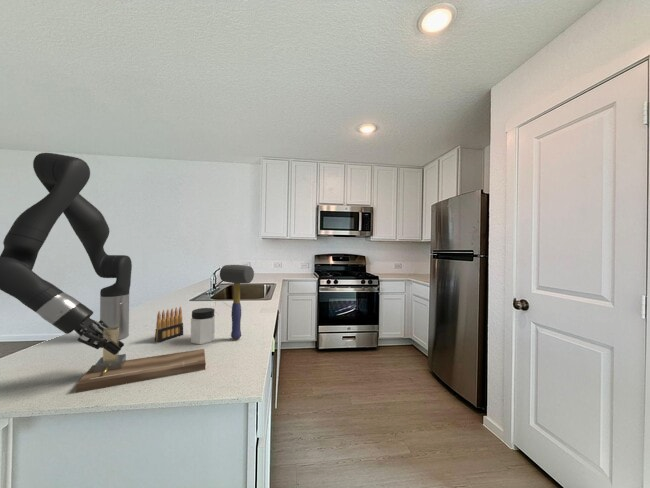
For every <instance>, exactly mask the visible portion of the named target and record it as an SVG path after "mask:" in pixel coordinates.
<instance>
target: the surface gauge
mask: <svg viewBox="0 0 650 488" xmlns="http://www.w3.org/2000/svg"><path fill="white" fill-rule="evenodd" d="M103 333H104V334H105V337H107V338H108V339H109V340H110V341H112V342H113V343H115V344H116V345H118V346H119V340H120V339H119V327H111V328H106V329H105V330H104V331H103ZM119 352H120V351H119ZM119 352H118V353H117V354H116V355H113V354H112V353H110V352H109V351H107V350H106V349H104V348H102V357H100V358H99V360H97V362H96V363H95V364H94V365H95V366H94V373H97V372H103V373H106V371H109V370H116V369H121V368H122V366H123V364H124V363H125V361H126V360H127V353H122V354H120V353H119Z"/></svg>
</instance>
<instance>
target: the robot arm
mask: <svg viewBox="0 0 650 488" xmlns="http://www.w3.org/2000/svg"><path fill="white" fill-rule="evenodd" d="M32 162H33V163H32V166H33V167H32V168H33V171H34V174H35V176H36V177H37V178H38V181H40V182H41V184H42V185H43V186H44V188H45V189H46V190H47V192H48V194H47V195H45V196H44V197H43V198H42V199H41V200H39V201H37V202H35V204H33V205H31V206H30V207H28V208H26V209H25V210H24V211H23V212H22V213H20V214H19V216H18V217H16V219H15V220H14V222H13V224H11V227H10V228H9V230H8V231H7V233H6V235H5V237H4V239H3V241H2V242H3V243H2V244H3V250H2V252H1V253H0V291H2V292H4V293H5V294H7V295H9V296H11V297H12V298H15V299H16V300H18V301H19V302H20V303H22V304H23V305H25V307H27V308H29V309H30V310H31V311H33V312H35V313H36V314H37V315H39V316H40V318H42V319H43V320H44V321H46V322H48V323H49V324H50V325H52V326H53V327H55V328H57V329H58V330H59V331H61V332H62V333H64V334H66V335H68V334H71V333H72V332H73V331H74V332H75V333H76V334H77V335H78V336H79V337H78V338H77V339H76V341H78V342H80V343H82V344H84V345H86V346H88V347H92V348H94V349H96V350H99V349H103V348H104V349H106V350H107V351H109V352H110V353H112V354H113V355H116V354H117V353H118V352H120V351H121V350H122V348H123V347H124V346H125V343H123V341H121V340H122V339H125V338H127V337H129V333H130V332H129V331H130V330H129V329H130V289H131V282H132V268H133V267H132V266H133V263H132V260H131V257H130V256H129V255H125V254H113V255H112V254H108V253H106V251H105V249H104V246H105V244H106V242H107V240H108V238H109V235H110V227H109V224H108V223H107V221H106V218H105V216H104V214H103V213H102V211H100V209H98V208H97V207H96V206H94V205H93V204H92V203H91V201H88V199H86V198H85V197H84V196H82V194H80V193H81V191H82V190H83V189H84V187H86V186H87V183H88V182H89V180H90V177H91V169H90V166H89V165H88V163H87V162H86V161H85V160H84V159H81V158H79V157H76V156H71V155H65V154H58V153H53V152H41V153H38V154H36V155H35V157H34V159H33V161H32ZM62 214H63V215H64V216H65V218H66V219H67V221H68V223H69V225H70V226H71V229H73V231H74V234H75V236H77V238H78V239H79V241H80V242H81V244H82V246H83V248H84V250H85V252H86V254H87V255H88V258H89V260H90V263H91V265H92V267H93V270H94V272H95V274H96V275H97V276H99V278H102V279H115V282H114V283H113V284H111V285H109V286H104V287H103V288H100V294H99V296H100V298H99V321H98V320H94V319H92V318H91V317H92V316H93V314H94V311H93V310H91V309H90V308H89V307H88V306H87V305H85V304H83V303H82V302H80V301H79V300H78V299H76V298H75V297H73V296H71V295H70V294H67V293H66V292H64V291H63V290H62V289H60V288H59V287H57V286H56V285H55V284H53V283H51V282H50V281H48V280H46V279H44V278H42V277H41V276H39V275H38V274H37V273H36V272H34V271H33V269H34V267H35V264H36V261H37V258H38V255H39V252H40V249H42V247H43V245H44V244H45V242H46V240H47V238H48V237H49V235H50V232H51V231H52V229H53V227H54V225H56V223H57V221H58V219H60V217H61V215H62ZM111 327H119V346H118V345H116V344H115V343H113V342H112V341H110V340H109V339H108V338H107V337H105V334H104V333H103V331H104V330H105V329H106V328H111Z"/></svg>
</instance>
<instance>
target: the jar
mask: <svg viewBox="0 0 650 488" xmlns="http://www.w3.org/2000/svg"><path fill="white" fill-rule="evenodd" d="M215 323H216V315H215V308H212V307H200V308H196V309H193V310H192V311H191V319H190V343H191V344H196V345H203V344H208V343H212V342H214V339H215V336H216V335H215V332H216V330H215V329H216V324H215Z"/></svg>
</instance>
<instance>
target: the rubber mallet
mask: <svg viewBox="0 0 650 488" xmlns="http://www.w3.org/2000/svg"><path fill="white" fill-rule="evenodd" d="M254 275H255V271H254V268H253V267H252V266H250V265H249V266H248V265H242V264H225V265H223V266H222V267H221V268H220V270H219V277H220V280H221V281H222V282H225V283H229V284H233V297H232V299H233V302H232V306H231V314H230V315H231V333H230V338H231V339H232V340H233V341H238V340H240V338H241V337H242V332H241V331H242V330H241V322H242V321H241V319H242V305H241V284H249V283H251V282H252V281H253V280H254V277H255V276H254Z"/></svg>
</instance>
